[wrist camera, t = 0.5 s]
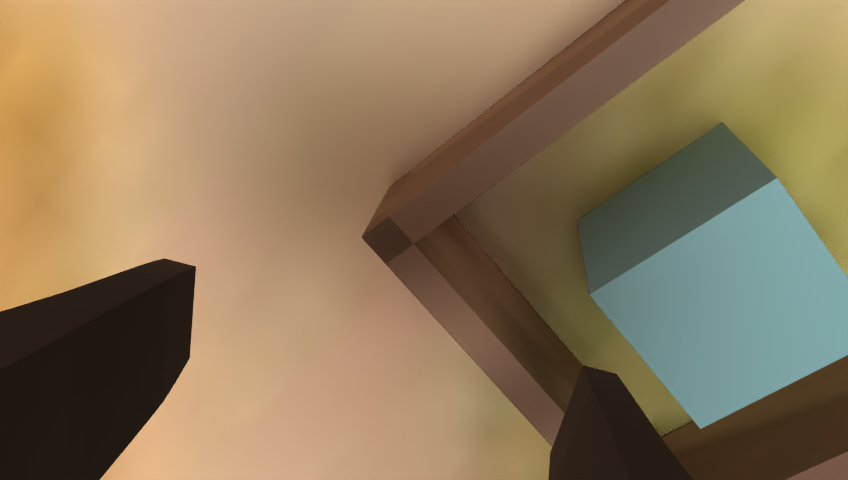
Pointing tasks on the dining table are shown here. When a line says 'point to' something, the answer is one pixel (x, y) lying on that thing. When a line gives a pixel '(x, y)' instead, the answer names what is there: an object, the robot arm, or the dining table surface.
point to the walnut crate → (515, 318)
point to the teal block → (716, 278)
